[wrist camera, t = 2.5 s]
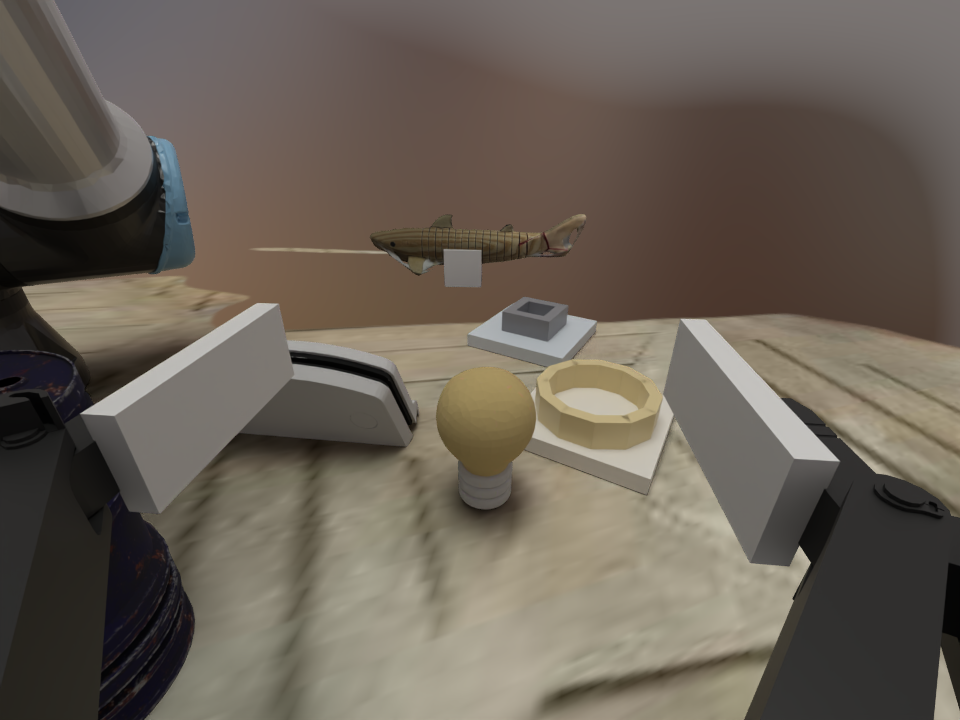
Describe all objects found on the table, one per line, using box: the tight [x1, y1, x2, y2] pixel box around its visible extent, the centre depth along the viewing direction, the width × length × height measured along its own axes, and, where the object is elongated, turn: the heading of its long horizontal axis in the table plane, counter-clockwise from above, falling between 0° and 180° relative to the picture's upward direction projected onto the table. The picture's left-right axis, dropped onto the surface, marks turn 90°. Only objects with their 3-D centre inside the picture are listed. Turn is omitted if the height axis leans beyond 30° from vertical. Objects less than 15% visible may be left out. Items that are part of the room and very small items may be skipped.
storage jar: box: [0, 350, 195, 720], centre depth 18 cm, size 10×10×15 cm
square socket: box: [468, 297, 597, 367], centre depth 54 cm, size 12×12×4 cm
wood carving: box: [370, 214, 586, 287], centre depth 72 cm, size 9×35×11 cm, turn 88°
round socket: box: [524, 360, 674, 495], centre depth 38 cm, size 12×12×4 cm
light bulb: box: [436, 367, 536, 509], centre depth 29 cm, size 6×6×10 cm
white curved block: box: [239, 340, 419, 447], centre depth 36 cm, size 17×5×10 cm, turn 83°
